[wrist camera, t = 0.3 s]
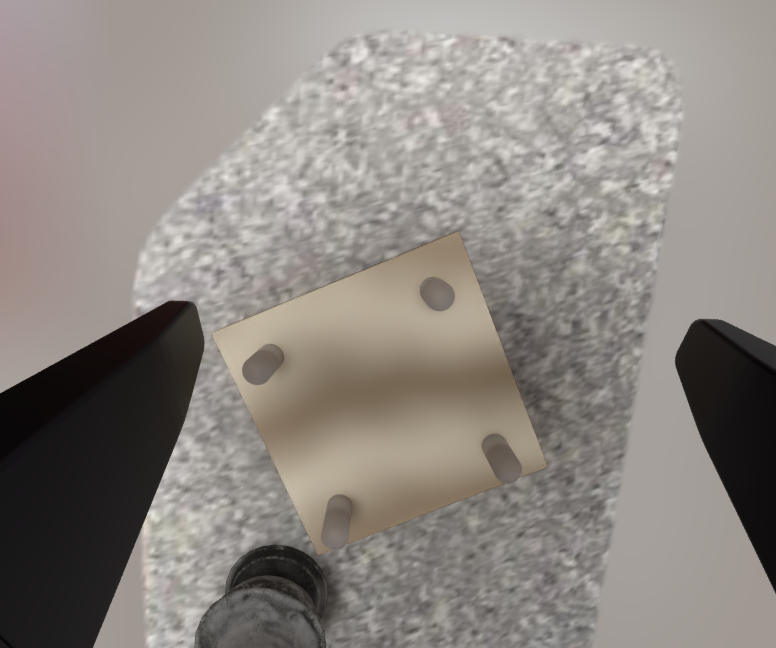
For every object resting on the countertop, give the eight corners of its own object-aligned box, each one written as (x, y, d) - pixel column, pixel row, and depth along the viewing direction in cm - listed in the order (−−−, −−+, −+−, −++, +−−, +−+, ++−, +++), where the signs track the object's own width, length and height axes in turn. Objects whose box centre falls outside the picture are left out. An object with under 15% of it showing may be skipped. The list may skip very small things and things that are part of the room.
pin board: (540, 457, 24) (567, 493, 21) (320, 542, 25) (311, 591, 21) (455, 231, 22) (468, 229, 19) (219, 329, 23) (190, 344, 19)
